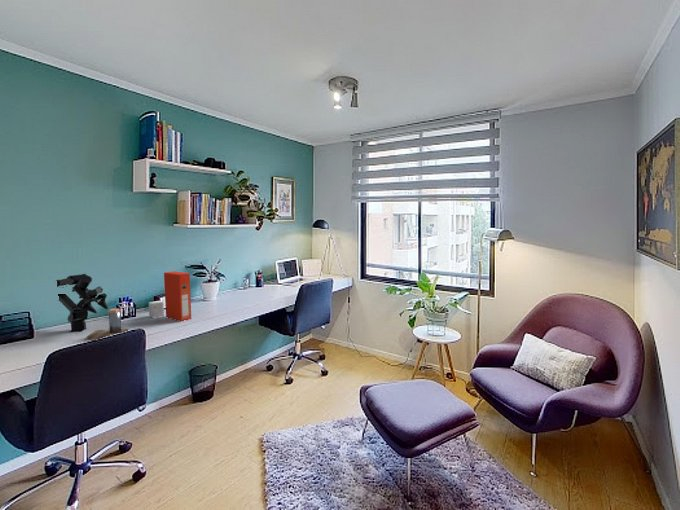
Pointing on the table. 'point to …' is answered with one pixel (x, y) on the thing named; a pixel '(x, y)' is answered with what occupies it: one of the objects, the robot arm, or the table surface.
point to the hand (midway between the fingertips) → (102, 310)
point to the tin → (115, 322)
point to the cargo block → (113, 310)
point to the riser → (102, 333)
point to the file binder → (177, 295)
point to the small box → (156, 309)
